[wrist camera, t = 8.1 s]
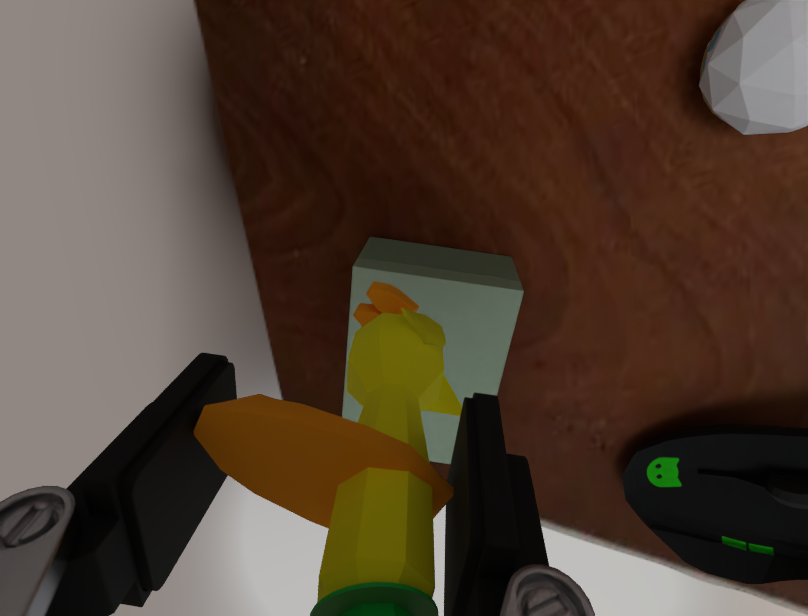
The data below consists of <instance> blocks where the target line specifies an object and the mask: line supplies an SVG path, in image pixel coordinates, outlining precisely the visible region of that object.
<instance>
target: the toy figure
mask: <svg viewBox="0 0 808 616" xmlns="http://www.w3.org/2000/svg"><path fill="white" fill-rule="evenodd" d="M366 295H367V296H368V297H369V299H370V300H371V302H372V303H373V304H365V303H360V304H359V305H358V306H357V308H356V310H355V312H354V314H353V317H354V318H355V319H356V320H357V322H358V323H359V324H360V325H361V326H362V328H360V329H359V330H357V331H356V332H355V335H354V338H353V342H352V346H351V350H350V353H349V357H348V369H347V384H346V391H347V392H348V393H349V394H350V395H351V396H352V397H353V398H354V399H355V400H356V401H357V402H358V403H359V404H360V405H361V406H362V407H363V409H362V411H361V414H360V416H359V419H358V422H354V421H351V420H348V419H345V418H342V417H339V416H337V415H334V414H331V413H328V412H325V411H322V410H319V409H316V408H313V407H310V406H307V405H304V404H300V403H295V402H289V401H284V400H278V399H274V398H271V397H268V396H264V395H262V394H257V395H253V396H248V397H243V398H239V399H235V400H230V401H226V402H221V403H215V404H209V405H205V406H204V408H203V411H202V413H201V415H200V417H199V420H198V422H197V424H196V426H195V429H194V436H195V437H196V438H197V440H198V441H199V442H200V444H201V445H202V446H203V447H204V449H205V450H206V451H207V453H208V454H209V455H210V457H211V458H212V459H213V460H214V462H215V463H216V464H217V466H218V467H219V468H220V470H222V471H223V472H225V473H226V474H227V475H229V476H230V477H232V478H233V479H235V480H236V481H237V482H239V483H240V484H242V485H243V486H245V487H246V488H247V489H249V490H250V491H252V492H253V493H255V494H257V495H259V496H261V497H263V498H265V499H267V500H269V501H271V502H273V503H275V504H277V505H279V506H281V507H283V508H285V509H287V510H289V511H291V512H293V513H295V514H297V515H299V516H301V517H303V518H305V519H307V520H309V521H312V522H314V523H316V524H319V525H321V526H324V527H327V528H329V531H328V535H327V540H326V545H325V550H324V555H323V559H322V564H321V570H320V574H319V586H318V602H317V604H316V605H315V606H314V608H313V610H312V611H311V613H310V616H438V608H437V606H436V604H435V602H434V601H433V599H432V597H433V593H434V589H435V570H434V534H433V518H434V517H435V516H436V515H437V514H438V513H439V511H440V510H441V509H442V508H443V507H444V506H445V505H446V503H447V502H448V501H449V500H450V499H451V498H452V497H453V495H454V488H453V487H452V486H451V485H450V484H449V483H448V482H447V481H446V480H445V479H444V478H443V477H442V476H441V475H440V474H439V473H438V472H437V471H436V470H435V469H434V468H433V467H432V466H431V465H430V462H429V456H428V451H427V445H426V439H425V434H424V428H423V423H422V417H421V411H423V410H426V411H432V412H438V413H443V414H449V415H455V416H460V415H461V411H462V405H461V403H460V402H459V400H458V398H457V396H456V395H455V393H454V391H453V389H452V387H451V386H450V384H449V382H448V380H447V379H446V377H445V375H444V358H443V346H445V345H446V338H445V335H444V331H443V328H442V326H441V325H440V324H438V323H437V322H435V321H434V320H433V319H431V318H430V317H428V316H427V315H424V314H421V313H417V310H418V309H419V305H418V304H417V303H415V302H414V301H413V300H412V299H410V298H409V297H408V296H407V295H406V294H404V293H403V292H402V291H401V290H400V289H398V288H396V287H395V286H393V285H391V284H386V283H381V282H376V281H374V282H373V283H372V284H371V286H370V287H369V289H368V291H367V292H366Z"/></svg>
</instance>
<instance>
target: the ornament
mask: <svg viewBox="0 0 808 616" xmlns="http://www.w3.org/2000/svg"><path fill="white" fill-rule="evenodd" d="M699 87H700V89H701V91H702V94H703V98H704V101H705V103H706V104H707V106H708V107H709V109H710V110H711V112H712V113H713V114H714V115H716V116H717V117H718V118H720V119H721V120H722V121H724V122H726V123H728V124H729V125H731V126H732V127H733V128H735V129H736V130H738V131H739V132H741V133H742V134H743V135H748V134H766V133H785V132H792V131H795V130H798V129H800V128H803V127H806V126H808V0H745V1H744V2H742V3H741V4H740V5H739V6H738V7H737V8H736V10H734V11H733V12H732V13H731V14H730V15H729V16H728V17H727V18H726V19H725V20H724V22H723V23H722V24H721V26H720V27H719V28H718V29H717V31H716V32H715V33H714V35H713V37H712V39H711V41H710V42H709V43H708V45H707V48H706V50H705V53H704V57H703V61H702V64H701V68H700V83H699Z"/></svg>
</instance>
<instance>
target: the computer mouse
mask: <svg viewBox="0 0 808 616" xmlns="http://www.w3.org/2000/svg"><path fill="white" fill-rule="evenodd" d="M622 480H623V486H624V492H625V498H626V501H627V502H628V503H629V504H630V506H631V507H632V508H633V510H634V511H635V512H636V513H637V515H638V516H639V517H640V518H641V520H642V521H643V522H644V523H645V524H646V525H647V526H648V527H649V528H650V529H651V530H652V531H653V532H654V533H655V534H656V535H657V536H658V537H659V538H660V539H661V540H662V541H663V542H665V543H666V544H667V545H668V546H669V547H670V548H671V549H672V550H673V551H674V552H675V553H676V554H677V555H678V556H679V557H680V558H681V559H682V560H683V561H685V562H686V563H688V564H690V565H692V566H694V567H696V568H698V569H700V570H702V571H704V572H706V573H709V574H712V575H716V576H719V577H723V578H727V579H730V580H734V581H738V582H742V583H746V584H764V583H771V582H777V581H787V580H808V429H805V428H791V427H777V426H761V425H742V424H724V425H714V426H705V427H698V428H692V429H687V430H683V431H678V432H674V433H669V434H667V435H665V436H662V437H660V438H658V439H655V440H653V441H651V442H649V443H646V444H645V445H643V446H641V447H639V448H638V449H637V450H636V451H635V452H634V454H633V456H632V458H631V460H630V462H629V464H628V465H627V467H626V469H625V471H624V473H623V475H622Z"/></svg>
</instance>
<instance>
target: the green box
mask: <svg viewBox="0 0 808 616" xmlns="http://www.w3.org/2000/svg"><path fill="white" fill-rule="evenodd" d="M374 281H376V282H381V283H386V284H391V285H393V286H395V287H396V288H398V289H400V290H401V291H402V292H403V293H404V294H406V295H407V296H408V297H409V298H410V299H412V300H413V301H414V302H415V303H417V304H418V305H419V309H418V310H417V313H421V314H424V315H427V316H428V317H430V318H431V319H433V320H434V321H435V322H437V323H438V324H440V325H441V326H442V328H443V331H444V335H445V338H446V345H445V346H443V358H444V375H445V377H446V379H447V380H448V382H449V384H450V386H451V387H452V389H453V391H454V393H455V395H456V396H457V398H458V400H459V402H460V403H461V405H462V406H463V401H464V398H465V397H468V398H472V397H473V394H474V392H476V393H483V394H490V395H496V396H497V393H498V389H499V385H500V381H501V377H502V374H503V370H504V366H505V362H506V358H507V354H508V351H509V347H510V343H511V339H512V335H513V331H514V327H515V324H516V320H517V316H518V312H519V308H520V304H521V301H522V297H523V293H524V290H523V288H522V285H521V282H520V279H519V277H518V274H517V271H516V268H515V265H514V263H513V260H512V257H509V256H502V255H496V254H489V253H482V252H475V251H468V250H461V249H454V248H447V247H440V246H433V245H426V244H419V243H412V242H405V241H398V240H391V239H384V238H377V237H369V239H368V241H367V243H366V244H365V246H364V248H363V250H362V251H361V253H360V255H359V257H358V258H357V260H356V262H355V264H354V265H353V271H352V285H351V299H350V313H349V328H348V342H347V356H346V370H345V384H344V398H343V412H342V418H345V419H348V420H351V421H354V422H358V419H359V416H360V414H361V411H362V409H363V407H362V406H361V405H360V404H359V403H358V402H357V401H356V400H355V399H354V398H353V397H352V396H351V395H350V394H349V393H348V392H347V391H346V384H347V369H348V357H349V353H350V350H351V346H352V342H353V338H354V335H355V332H356V331H357V330H359V329H360V328H362V326H361V325H360V324H359V323H358V322H357V320H356V319H355V318H354V317H353V314H354V312H355V310H356V308H357V306H358V305H359V304H360V303H365V304H373V303H372V302H371V300H370V299H369V297H368V296H367V295H366V292H367V291H368V289H369V287H370V286H371V284H372V283H373V282H374ZM421 417H422V423H423V428H424V434H425V439H426V445H427V451H428V456H429V461H434V462H440V463H446V464H451V459H452V454H453V450H454V445H455V440H456V435H457V430H458V425H459V420H460V416H455V415H449V414H443V413H438V412H432V411H426V410H423V411H421Z"/></svg>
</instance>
